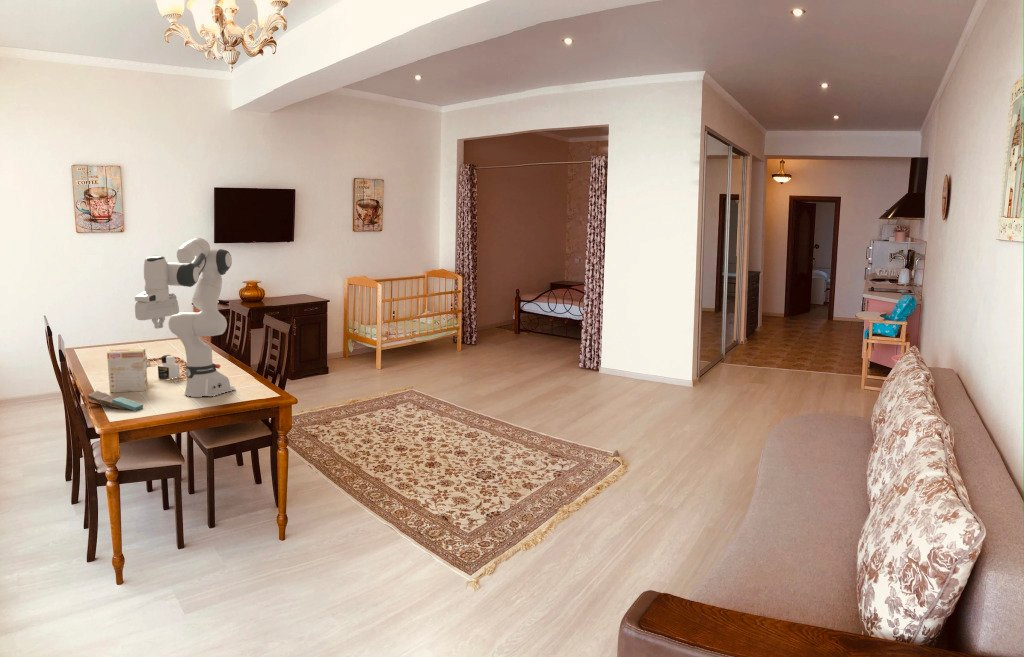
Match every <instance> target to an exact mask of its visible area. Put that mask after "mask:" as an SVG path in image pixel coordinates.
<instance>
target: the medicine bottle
mask: <svg viewBox="0 0 1024 657" xmlns="http://www.w3.org/2000/svg"><path fill="white" fill-rule="evenodd" d="M157 376H158V379H159V378H161V379H160V380H163V379H172V378H175V377H179V376H180V377H181V375H180V364H179V363H176V358H175V355H173V354H166V355H163V356H161V364H158V365H157ZM180 377H179V378H180ZM172 380H173V379H172Z"/></svg>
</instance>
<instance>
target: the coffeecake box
mask: <svg viewBox="0 0 1024 657" xmlns="http://www.w3.org/2000/svg"><path fill="white" fill-rule="evenodd" d="M106 356H107V358H106V359H107V371H108V384H109V393H110V392H113V393H128V391H134V392H145V391H146V390H147V389H148V386H149V385H148V384H149V383H148V372H147V371H148V370H147V369H148V367H147V368H146V356H147V353H146V348H134V349H133V348H132V349H131V348H130V349H129V348H128V349H110V350H109V351H107V353H106Z"/></svg>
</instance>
